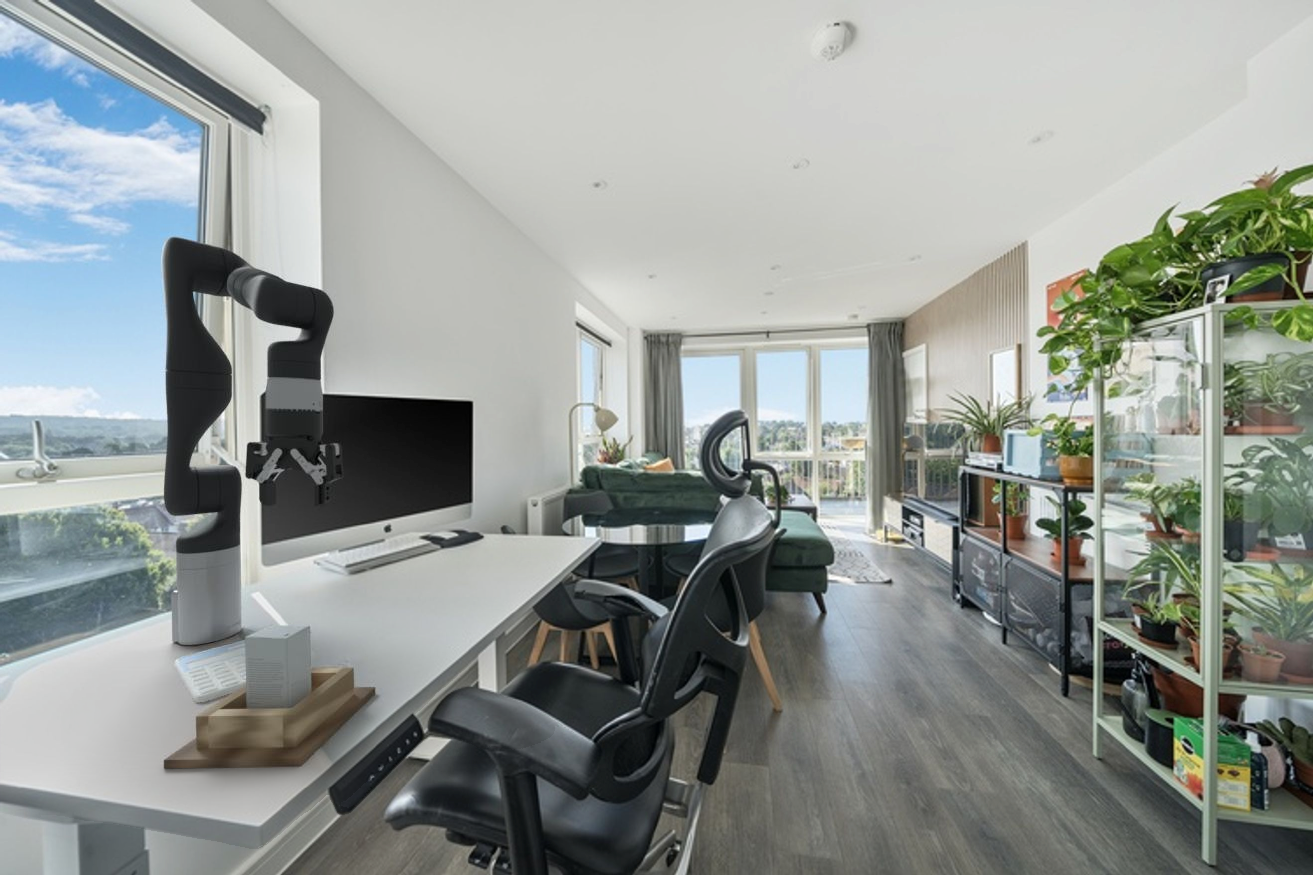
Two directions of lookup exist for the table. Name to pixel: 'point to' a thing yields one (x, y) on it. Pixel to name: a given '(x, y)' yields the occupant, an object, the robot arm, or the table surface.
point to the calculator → (213, 671)
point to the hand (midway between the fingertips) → (295, 505)
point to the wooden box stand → (272, 726)
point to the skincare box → (278, 667)
